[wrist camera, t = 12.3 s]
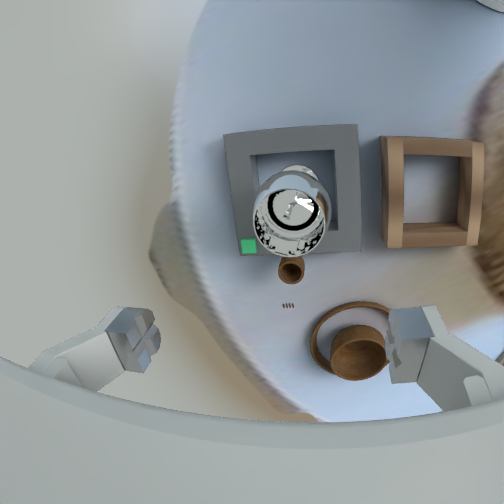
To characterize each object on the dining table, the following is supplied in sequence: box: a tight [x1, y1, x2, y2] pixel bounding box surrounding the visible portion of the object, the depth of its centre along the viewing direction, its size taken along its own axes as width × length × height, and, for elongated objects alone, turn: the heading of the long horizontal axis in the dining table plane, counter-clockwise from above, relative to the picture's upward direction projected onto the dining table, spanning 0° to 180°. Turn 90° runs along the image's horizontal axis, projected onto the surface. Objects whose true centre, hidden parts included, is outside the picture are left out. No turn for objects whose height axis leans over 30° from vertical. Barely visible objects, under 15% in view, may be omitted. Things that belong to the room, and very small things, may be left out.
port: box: [223, 124, 361, 256], centre depth 29 cm, size 12×12×3 cm
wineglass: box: [252, 164, 332, 257], centre depth 25 cm, size 6×6×12 cm
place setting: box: [278, 256, 390, 381], centre depth 33 cm, size 18×20×6 cm
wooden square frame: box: [380, 136, 484, 249], centre depth 26 cm, size 11×11×3 cm
